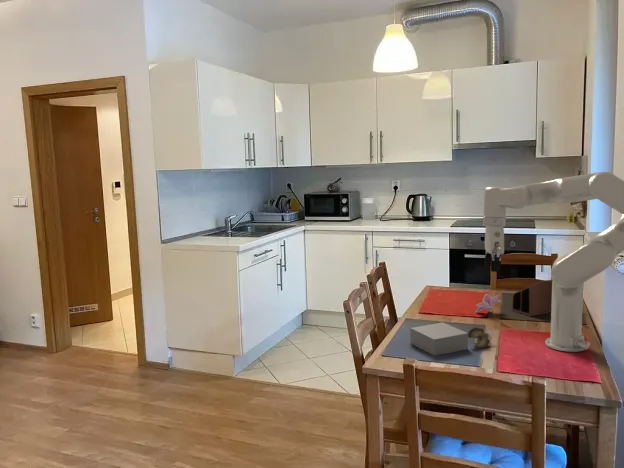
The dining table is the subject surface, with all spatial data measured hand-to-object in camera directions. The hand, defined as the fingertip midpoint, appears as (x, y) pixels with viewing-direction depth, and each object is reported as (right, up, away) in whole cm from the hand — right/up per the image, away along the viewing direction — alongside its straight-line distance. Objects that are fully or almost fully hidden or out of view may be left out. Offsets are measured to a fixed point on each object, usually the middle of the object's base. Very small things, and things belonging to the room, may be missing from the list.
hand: (492, 268), depth 186 cm
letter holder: (+32, -21, +35) cm, 52 cm away
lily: (+9, -22, +32) cm, 39 cm away
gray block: (-21, -27, -5) cm, 34 cm away
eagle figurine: (-6, -27, -4) cm, 28 cm away
